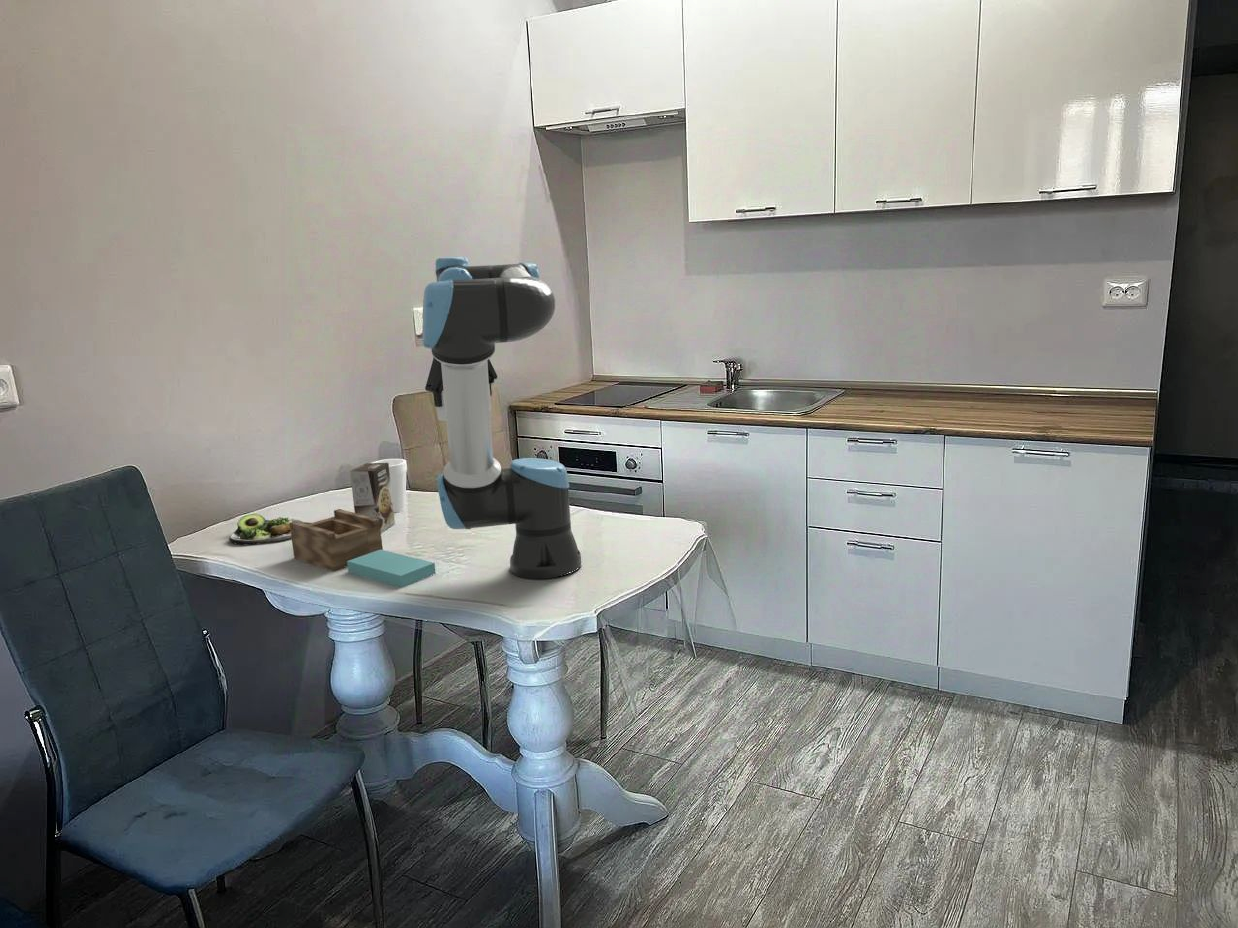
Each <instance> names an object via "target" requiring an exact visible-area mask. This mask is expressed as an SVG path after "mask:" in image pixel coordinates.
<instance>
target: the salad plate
mask: <svg viewBox="0 0 1238 928" xmlns="http://www.w3.org/2000/svg"><path fill="white" fill-rule="evenodd" d="M294 521H297V522H301V523H304V524H310V523H311V522H308V521H303V520H301V519H294V518H291V519H290V518H289V517H281V516H280V517H278V518H274V519H271V520H270V519H265V517H264V516H262V515H260V514H257V513H251V514H245V515H244V516H242V517H241V518H240V519H239V520H238V522H237V523H236V524H237V529H235V531H234V532H233V533H232V534H231V535H230V537H229V541H230V542H231V543H233V544H234V543H236V544H235V545H238V544H251V545H258V544H257V543H261V544H269V543H275V542H282V541H286V540H287V541H288V540H292V538H291V531H290V522H294ZM283 534H287V535H283ZM277 535H281V536H277ZM272 536H274V537H272ZM239 537H240V538H239ZM270 537H271V538H270ZM268 538H269V539H268Z"/></svg>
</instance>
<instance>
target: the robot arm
mask: <svg viewBox="0 0 1238 928" xmlns="http://www.w3.org/2000/svg"><path fill="white" fill-rule="evenodd" d="M538 269H539V268H538V266H537V264H535V263H532V262H531V263H527V262H519V263H512V264H511V263H510V264H495V265H490V264H489V265H487V264H486V265H471V266H470V264H469V260H468V258H467V257H465V256H454V257H451V256H450V257H439V258H436V260H435V276H436V281H433V282H430V283H429V284H426V286H425V288H424V291H423V300H422V337H421V338H422V345H423V347H424V348H427V349H430V350H431V355H432V357H433V359H432V362H431V366H430V370H429V373H428V377H427V380H426V382H425V383H426V384H425V387H424V389H425V391H427V392H430V393H432V394H433V404H434V407H436V412H437V421H442V422H443V421H444V422H446V431H447V440H448V441H447V442H448V451H449V453H448V455H449V460H448V462H447V463H446V464H445V465H444V468H443V473H441V474H439V475H438V476H437V477H436V482H437V483H436V485H437V491H438V496H439V501H440V506H441V511H442V515H443V518H444V521H445V524H446V525H447V526H448V527H449V528H450V529H453V530H472V529H476V528H486V527H496V526H506V525H515V538H514V543H513V548H512V549H513V550H512V554H511V556H510V558H509V563H510V565H509V566H510V567H509V569H510V573H512V575H515V576H517V577H520V578H523V579H529V580H542V579H543V580H545V578H548V579H553V577H556V578H559V577H558V576H561V575H565V574H567V573H569V572H572V571H574V570H576V569H577V568H579V567H580V565H581V563H582V554H581V552H580V550H579V548H578V545H577V542H576V540H575V537H574V534H573V532H572V522H571V508H570V495H569V494H570V493H569V492H570V491H569V488H570V482H569V478H568V472H567V468H566V466H565V465H564V464H562V463H560V462H559V461H557V460H552V459H547V458H538V457H523V458H516V459H513V460H511V462H510V465H509V467H508V468H502V466H501V464H500V462H499V461H498V460H497V459H496V458H495V457H494V453H493V452H494V450H493V434H492V433H493V432H492V417H491V411H492V400H491V397H492V396H493V395H492V394H493V389H492V384H494V383H495V380H497V379H498V374H497V372H496V369H495V368H494V366H493V364H492V361H491V360H490V359H491V358H492V357H493V356H494V355H495V352H496V351H495V350H496V344H500V343H501V344H502V343H512V342H517V341H523V340H524V339H527V338H529V337H532V336H535V334H537V333H539V332H540V331H542V330H543V329H544V328H545V327H546V326H547V325H548V324H549V323H550V321H551V319H552V318H553V316H554V313H555V310H556V298H555V294H554V293H553V291H552V289H551V288H550V287H549V285H548V283H546V282H545V281H544V280H542V279H540V273H539V270H538ZM581 566H582V565H581ZM580 568H581V567H580ZM580 568H579V569H580ZM565 576H566V575H565ZM561 577H562V576H561Z"/></svg>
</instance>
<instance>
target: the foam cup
mask: <svg viewBox="0 0 1238 928" xmlns="http://www.w3.org/2000/svg"><path fill="white" fill-rule="evenodd" d="M371 463H389V473H390V482H391V491H392V501H393V510H394V514H395V513H400V512H403V511H404V510H405V509H406V493H407V490H406V489H407V488H406V487H407V470H408V465H407V460H406V459H404V458H386V459H380V460H376V461H372V462H371Z"/></svg>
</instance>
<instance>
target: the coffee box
mask: <svg viewBox="0 0 1238 928" xmlns="http://www.w3.org/2000/svg"><path fill="white" fill-rule="evenodd" d="M349 473H350V482H351V490H352V501H353V509H354V511H353V512H354V513H357V514H361V515H365V516H369V517H373V518H377V519H379V521H380V530H381V534H382V533H383V532H384V531H386V530H387V529H389V528H391V527H393V526H394V525H395V524H396V522H395V521H396V520H395V513H394V510H393V501H392V491H391V482H390V473H389V463H372V462H369V463H368V462H366V463H364V464H361V465H360V466H358V467H356V468H353V469H352V470H349Z"/></svg>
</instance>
